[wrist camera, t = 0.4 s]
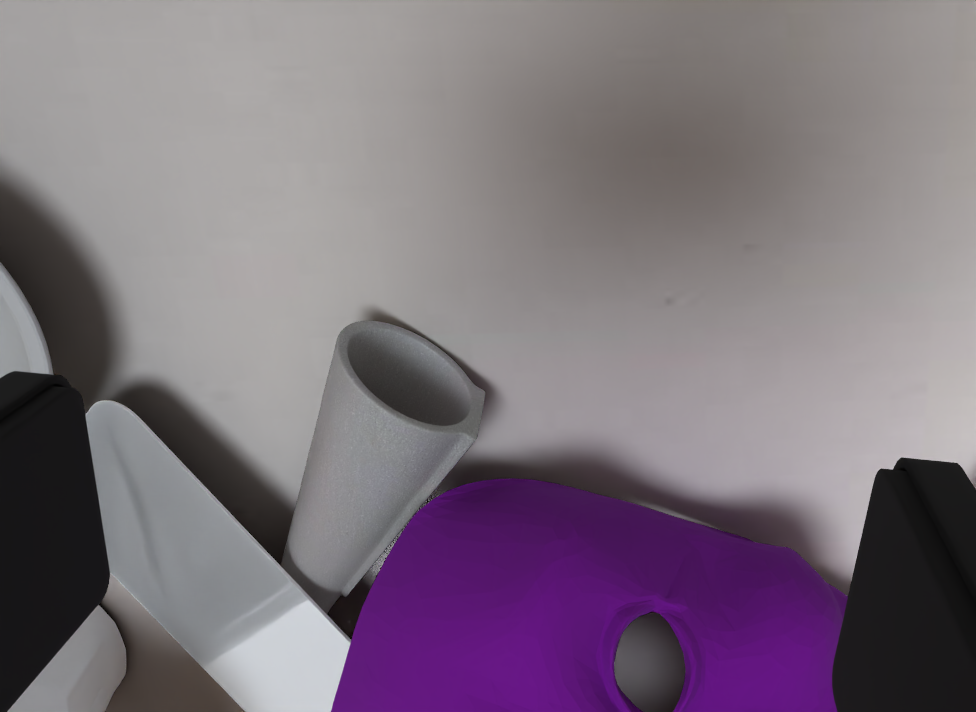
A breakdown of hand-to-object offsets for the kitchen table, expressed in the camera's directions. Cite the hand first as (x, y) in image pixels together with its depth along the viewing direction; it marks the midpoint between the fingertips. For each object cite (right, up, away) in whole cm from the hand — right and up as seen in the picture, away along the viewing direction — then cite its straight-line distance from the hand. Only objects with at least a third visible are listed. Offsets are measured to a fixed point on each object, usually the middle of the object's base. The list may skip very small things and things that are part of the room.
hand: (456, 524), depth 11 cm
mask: (+20, -16, +22) cm, 34 cm away
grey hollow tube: (-7, -5, +31) cm, 33 cm away
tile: (-10, -8, +27) cm, 30 cm away
